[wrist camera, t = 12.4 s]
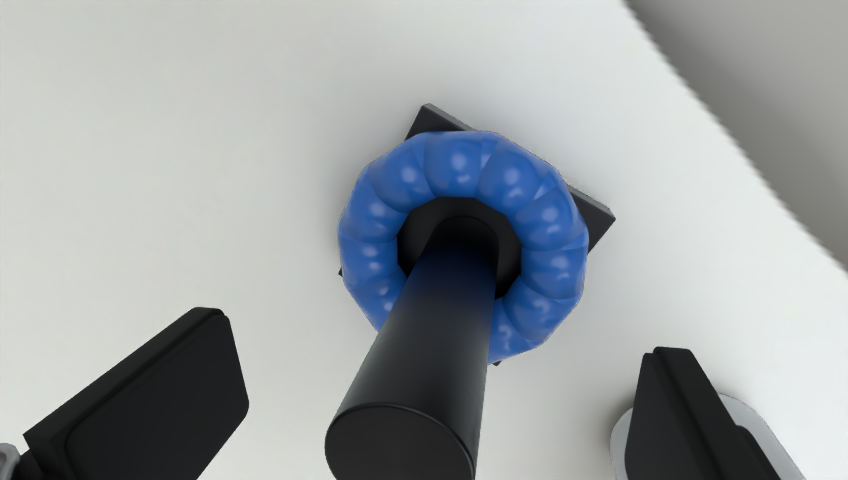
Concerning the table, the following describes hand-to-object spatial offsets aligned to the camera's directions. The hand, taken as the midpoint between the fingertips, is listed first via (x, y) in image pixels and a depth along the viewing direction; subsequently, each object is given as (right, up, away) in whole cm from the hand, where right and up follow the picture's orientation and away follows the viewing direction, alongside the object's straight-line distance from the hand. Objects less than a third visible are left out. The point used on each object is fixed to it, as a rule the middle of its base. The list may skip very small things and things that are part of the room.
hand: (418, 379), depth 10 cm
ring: (+1, +3, +6) cm, 7 cm away
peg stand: (+2, +3, +8) cm, 9 cm away
